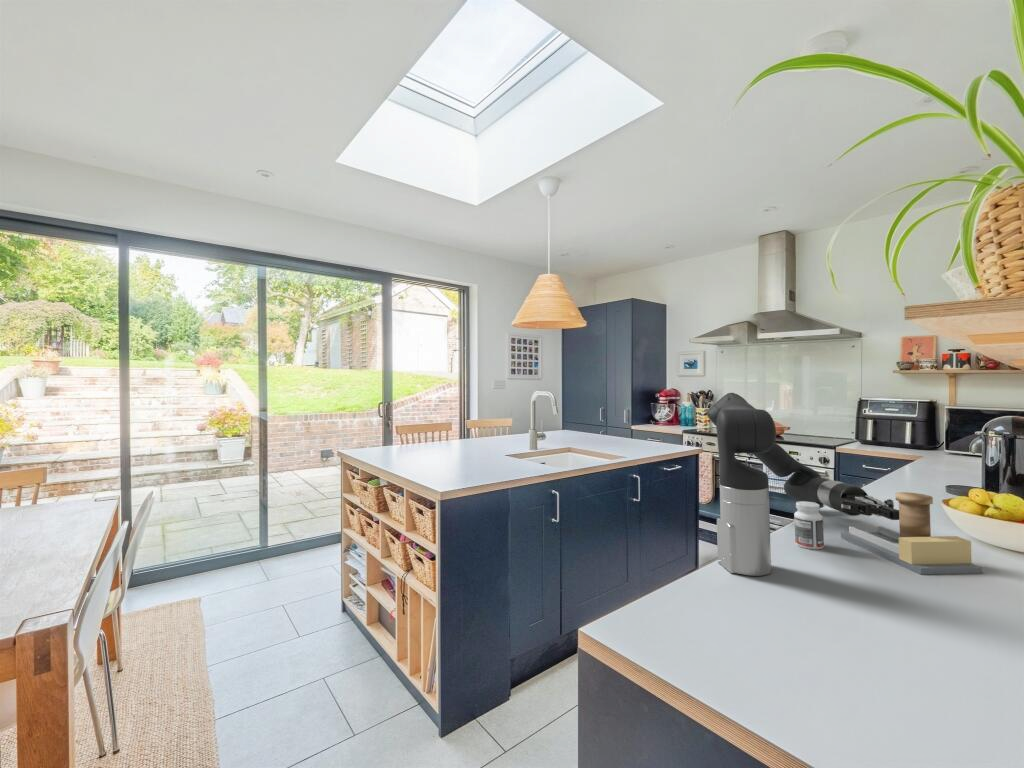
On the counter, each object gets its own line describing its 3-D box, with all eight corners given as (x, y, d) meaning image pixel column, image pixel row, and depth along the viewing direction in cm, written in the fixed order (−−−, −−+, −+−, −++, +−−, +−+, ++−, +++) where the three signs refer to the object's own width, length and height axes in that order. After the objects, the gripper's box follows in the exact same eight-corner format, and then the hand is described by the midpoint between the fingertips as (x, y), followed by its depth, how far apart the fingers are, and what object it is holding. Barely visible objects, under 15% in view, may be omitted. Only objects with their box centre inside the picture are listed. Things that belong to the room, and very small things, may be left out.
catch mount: (921, 574, 89) (919, 545, 89) (840, 537, 111) (840, 514, 111) (982, 573, 89) (981, 544, 89) (889, 536, 111) (889, 513, 111)
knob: (913, 557, 94) (911, 499, 94) (890, 547, 100) (888, 492, 100) (942, 557, 94) (940, 498, 94) (917, 547, 100) (915, 492, 100)
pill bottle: (815, 541, 109) (814, 500, 109) (829, 550, 103) (828, 506, 103) (790, 541, 109) (789, 500, 110) (803, 550, 104) (801, 506, 104)
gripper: (816, 483, 119) (867, 499, 102) (866, 482, 119) (926, 498, 102) (817, 511, 119) (868, 532, 102) (867, 510, 119) (927, 531, 102)
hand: (897, 515), depth 102 cm, fingers closed
